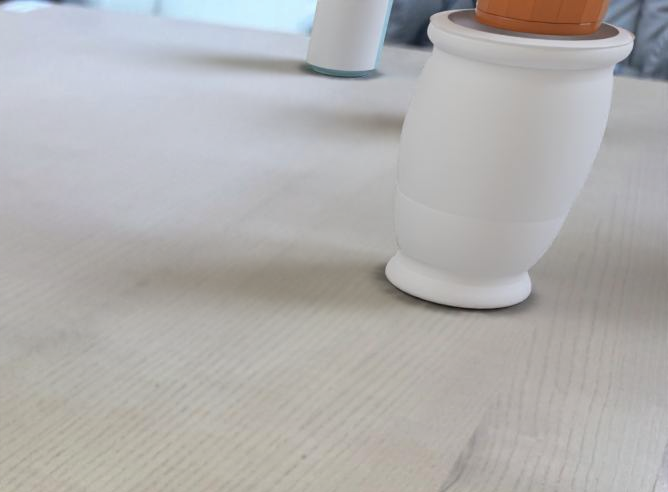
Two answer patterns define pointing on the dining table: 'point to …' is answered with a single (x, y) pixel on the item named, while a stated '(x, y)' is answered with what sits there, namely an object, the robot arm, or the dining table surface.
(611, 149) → the dining table surface
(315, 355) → the dining table surface
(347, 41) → the can
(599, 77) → the jar
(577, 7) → the cup
